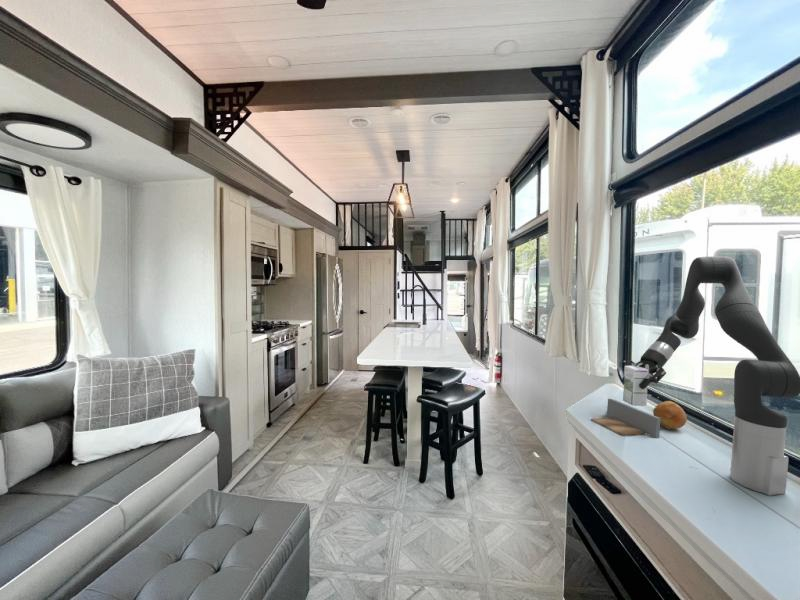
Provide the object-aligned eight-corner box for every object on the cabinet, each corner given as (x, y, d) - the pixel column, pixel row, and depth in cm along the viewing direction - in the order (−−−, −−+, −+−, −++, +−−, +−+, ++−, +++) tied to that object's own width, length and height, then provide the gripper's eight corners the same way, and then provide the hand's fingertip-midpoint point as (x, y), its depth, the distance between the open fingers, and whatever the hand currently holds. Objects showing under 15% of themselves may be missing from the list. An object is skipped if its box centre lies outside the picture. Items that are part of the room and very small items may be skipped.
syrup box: (647, 406, 127) (649, 369, 126) (631, 405, 127) (633, 368, 126) (636, 401, 132) (638, 365, 132) (622, 400, 132) (624, 365, 132)
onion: (647, 421, 129) (649, 396, 129) (677, 424, 127) (679, 399, 126) (659, 431, 120) (661, 404, 120) (691, 435, 117) (694, 408, 117)
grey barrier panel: (659, 437, 114) (660, 418, 114) (655, 438, 114) (657, 418, 113) (609, 415, 134) (610, 398, 133) (606, 415, 133) (607, 398, 133)
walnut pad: (645, 434, 116) (645, 432, 116) (623, 436, 114) (623, 434, 114) (611, 418, 130) (611, 417, 130) (590, 420, 128) (590, 418, 128)
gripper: (635, 345, 138) (611, 373, 135) (671, 352, 124) (644, 383, 121) (644, 358, 139) (620, 386, 137) (681, 365, 125) (655, 397, 123)
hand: (632, 384), depth 129 cm, fingers closed on syrup box, 6 cm apart
